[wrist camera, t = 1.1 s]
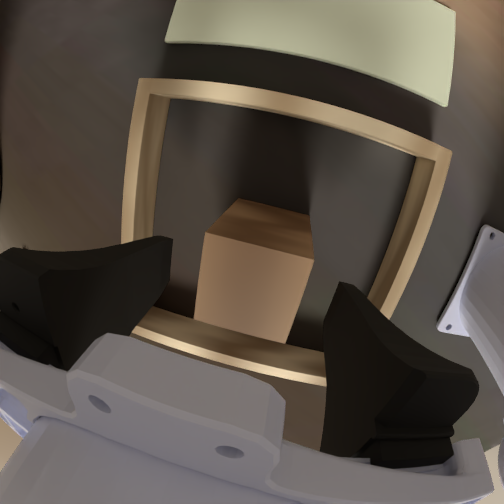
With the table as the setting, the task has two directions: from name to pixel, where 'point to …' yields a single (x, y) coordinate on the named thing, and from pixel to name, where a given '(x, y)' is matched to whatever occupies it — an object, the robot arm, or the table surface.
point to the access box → (162, 90)
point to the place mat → (335, 35)
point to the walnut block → (254, 270)
